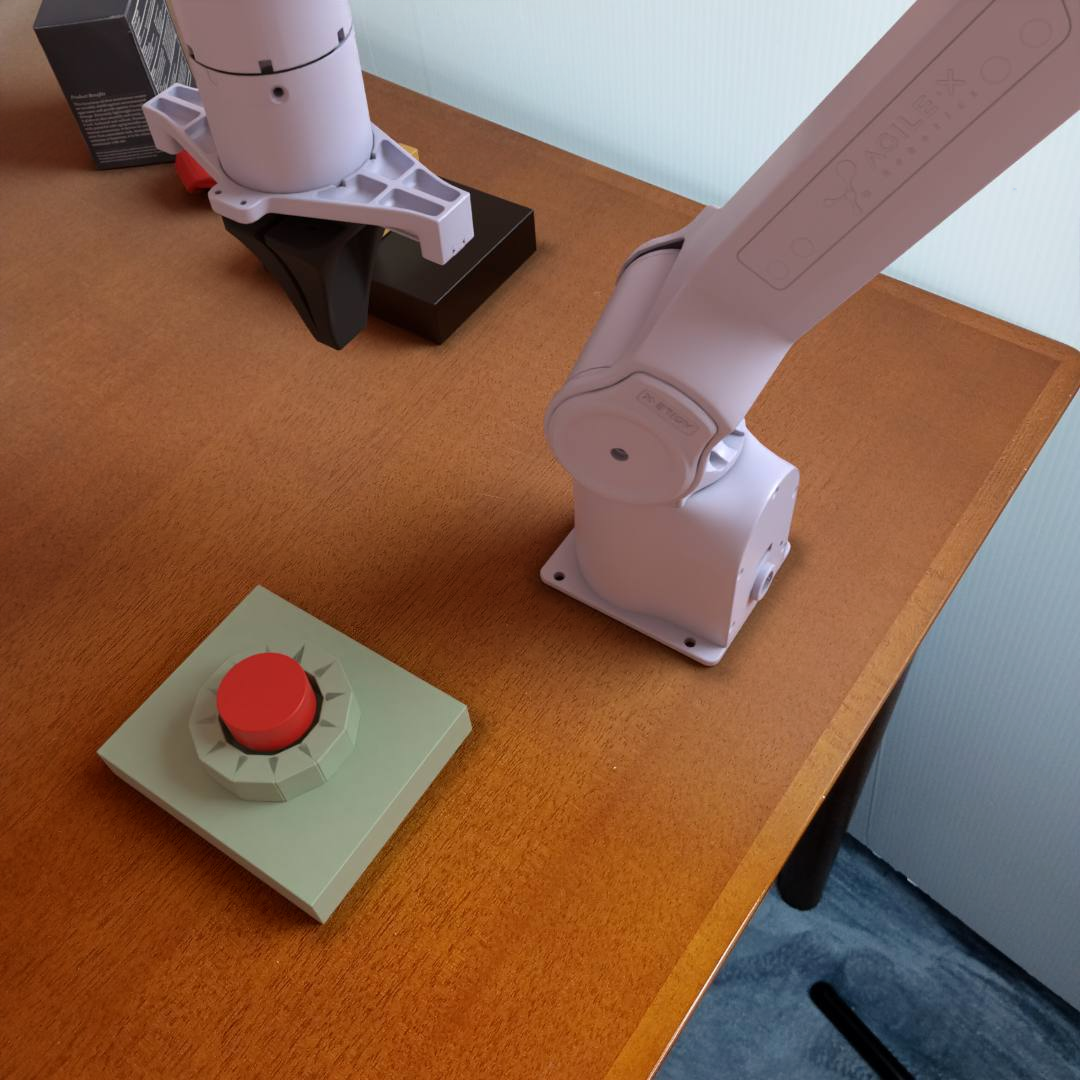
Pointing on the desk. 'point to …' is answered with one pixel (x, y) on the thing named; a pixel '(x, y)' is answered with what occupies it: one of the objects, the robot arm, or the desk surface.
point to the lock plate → (451, 269)
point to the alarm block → (292, 754)
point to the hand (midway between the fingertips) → (341, 332)
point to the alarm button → (266, 701)
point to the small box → (113, 71)
